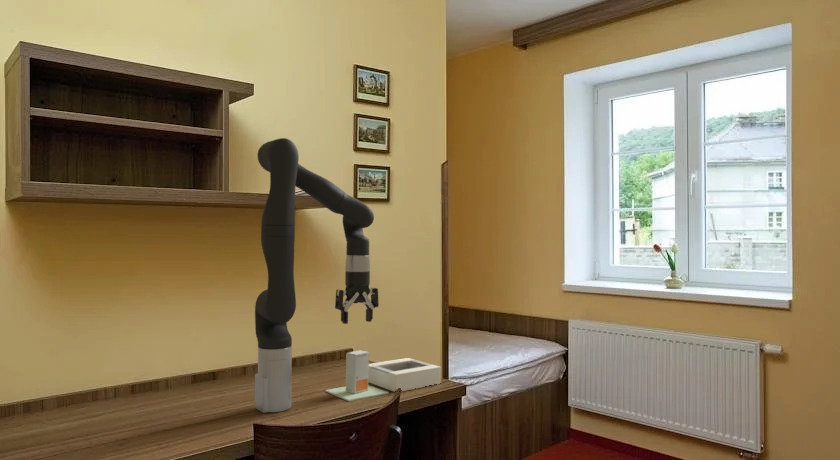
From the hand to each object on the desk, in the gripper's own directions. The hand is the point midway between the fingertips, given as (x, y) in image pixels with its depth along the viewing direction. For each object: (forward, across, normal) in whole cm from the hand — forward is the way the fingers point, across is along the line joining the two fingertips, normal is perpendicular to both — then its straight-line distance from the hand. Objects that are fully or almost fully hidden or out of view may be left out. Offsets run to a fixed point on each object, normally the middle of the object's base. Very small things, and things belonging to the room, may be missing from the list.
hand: (357, 322), depth 184 cm
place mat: (+22, 0, 0) cm, 22 cm away
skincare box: (+21, 0, 0) cm, 21 cm away
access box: (+22, +19, +2) cm, 29 cm away
